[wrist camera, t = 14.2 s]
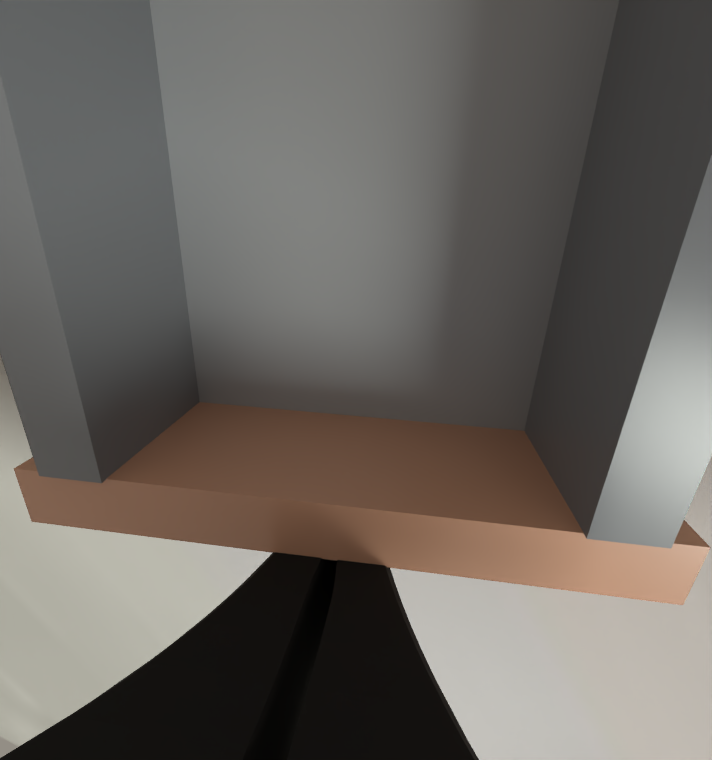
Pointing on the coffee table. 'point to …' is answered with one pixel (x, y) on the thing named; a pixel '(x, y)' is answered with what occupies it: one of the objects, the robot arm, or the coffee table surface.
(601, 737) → the coffee table surface
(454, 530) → the end cap
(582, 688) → the coffee table surface
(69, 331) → the tray
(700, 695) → the coffee table surface
